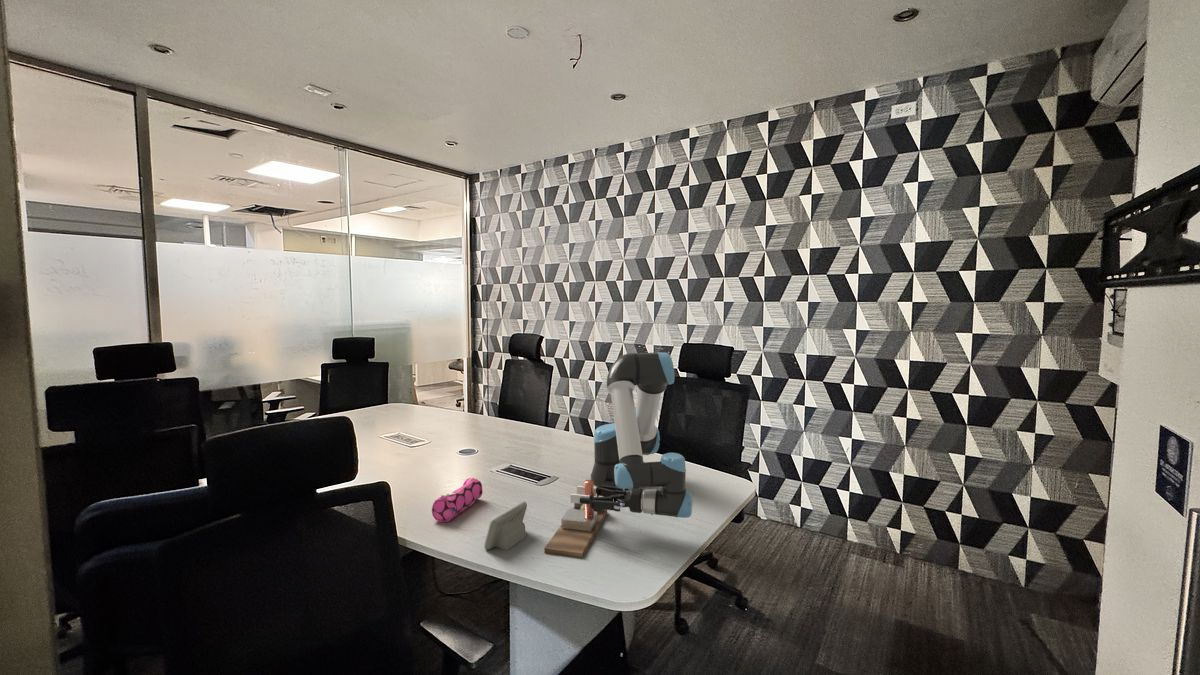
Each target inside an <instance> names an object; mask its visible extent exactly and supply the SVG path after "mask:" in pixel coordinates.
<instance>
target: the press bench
mask: <svg viewBox="0 0 1200 675" xmlns="http://www.w3.org/2000/svg"><path fill="white" fill-rule="evenodd" d="M573 505H574V506H573V508H572V509H577V510H585V504H579V503H573ZM594 511H596V512H597V522H596V523H595V525H594V527H593V529H592V530H591V532H590V531H582V530H573V529H565V528H561V525H560V526H559V528H558V529H557V530H556V531H555V533H554V534H553V535H552V537H551V538H550V540H549V541H548V543H547V544H546V546H545V547H544V548H543V549H544V554H550V555H557V556H558V555H559V556H564V557H571V558H578V559H583V557H584V556H585V554H586V552H587V550H588V548H589V547H590V545H591V543H592V542H593V540H594V538H595V537H596V536H595V535H596V534H597V532H598V531H599V529H600V527H601V525H602V523H603V522H604V520H605V518H606V516H607V515H608V510H602V509H594Z"/></svg>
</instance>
